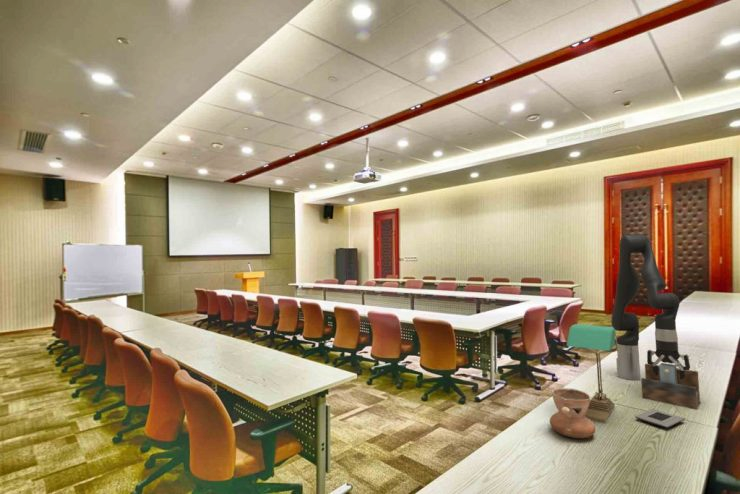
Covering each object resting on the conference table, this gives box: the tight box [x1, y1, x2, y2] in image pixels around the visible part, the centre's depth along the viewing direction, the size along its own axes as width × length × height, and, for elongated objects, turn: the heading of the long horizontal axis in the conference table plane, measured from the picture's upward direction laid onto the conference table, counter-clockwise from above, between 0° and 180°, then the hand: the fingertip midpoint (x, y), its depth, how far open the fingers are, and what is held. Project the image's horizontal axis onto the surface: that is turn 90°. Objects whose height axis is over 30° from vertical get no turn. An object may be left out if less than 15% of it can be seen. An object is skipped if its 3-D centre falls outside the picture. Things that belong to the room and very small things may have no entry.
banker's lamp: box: [566, 323, 618, 424], centre depth 148 cm, size 16×21×35 cm
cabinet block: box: [658, 362, 678, 384], centre depth 157 cm, size 5×6×10 cm
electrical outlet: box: [634, 408, 686, 429], centre depth 138 cm, size 13×10×2 cm
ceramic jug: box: [549, 387, 596, 439], centre depth 132 cm, size 18×14×14 cm
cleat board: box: [640, 363, 701, 410], centre depth 157 cm, size 18×10×13 cm, turn 42°
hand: (668, 376), depth 157 cm, fingers open, 8 cm apart
